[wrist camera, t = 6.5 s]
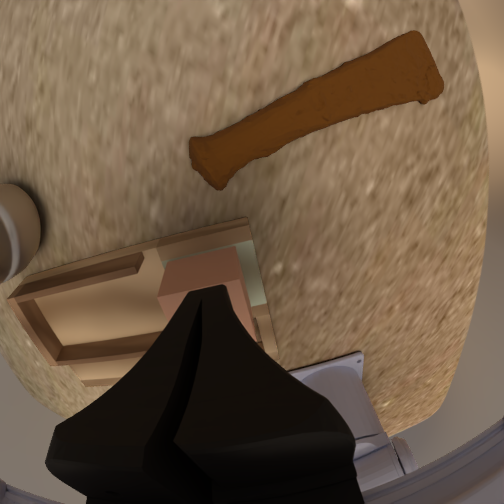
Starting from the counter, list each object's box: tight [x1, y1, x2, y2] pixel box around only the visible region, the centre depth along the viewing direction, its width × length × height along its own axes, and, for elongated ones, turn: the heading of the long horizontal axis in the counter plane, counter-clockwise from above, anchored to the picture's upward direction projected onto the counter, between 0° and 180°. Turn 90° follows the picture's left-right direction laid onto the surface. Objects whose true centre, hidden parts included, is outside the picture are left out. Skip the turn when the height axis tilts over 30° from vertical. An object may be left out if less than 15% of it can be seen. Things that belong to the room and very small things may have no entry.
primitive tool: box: [189, 30, 444, 191], centre depth 16 cm, size 19×6×4 cm, turn 121°
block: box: [157, 246, 257, 342], centre depth 18 cm, size 4×4×4 cm
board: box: [7, 217, 280, 387], centre depth 21 cm, size 12×19×4 cm, turn 102°
